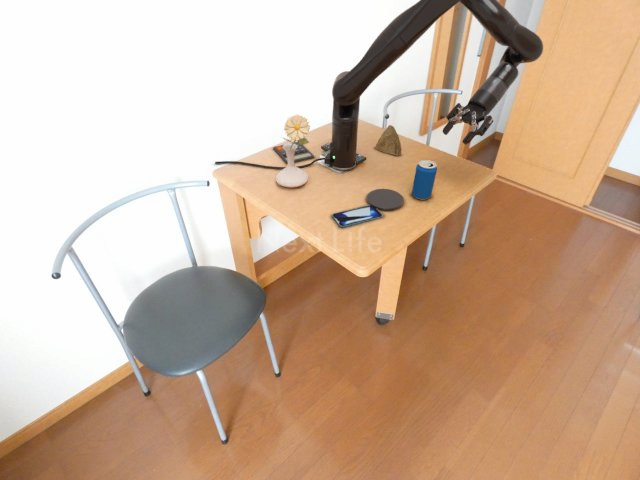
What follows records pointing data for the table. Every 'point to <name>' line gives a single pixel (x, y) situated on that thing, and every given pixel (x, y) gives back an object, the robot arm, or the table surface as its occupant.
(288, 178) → the flower in vase
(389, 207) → the metal coaster
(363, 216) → the smartphone
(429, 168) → the beverage can
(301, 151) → the calculator
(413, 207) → the table surface
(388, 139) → the rock
